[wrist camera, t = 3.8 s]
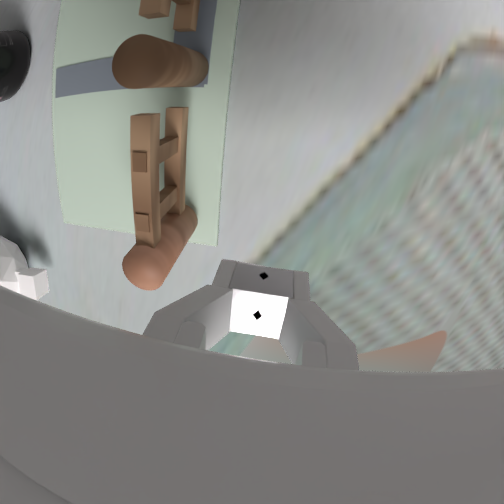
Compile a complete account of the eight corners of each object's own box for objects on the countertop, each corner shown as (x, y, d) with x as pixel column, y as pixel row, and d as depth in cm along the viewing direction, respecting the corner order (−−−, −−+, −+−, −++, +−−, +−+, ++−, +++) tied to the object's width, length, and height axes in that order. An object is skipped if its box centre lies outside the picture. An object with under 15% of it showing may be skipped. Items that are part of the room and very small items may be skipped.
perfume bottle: (2, 294, 27) (69, 308, 27) (-42, 322, 18) (23, 348, 18) (-7, 228, 25) (60, 230, 25) (-58, 244, 16) (2, 251, 16)
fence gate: (165, 105, 15) (110, 118, 10) (203, 106, 15) (159, 117, 10) (165, 232, 20) (125, 285, 15) (197, 237, 20) (165, 294, 15)
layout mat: (74, -43, 9) (71, -44, 9) (252, -79, 8) (252, -81, 8) (65, 221, 22) (63, 223, 21) (217, 244, 21) (216, 247, 21)
